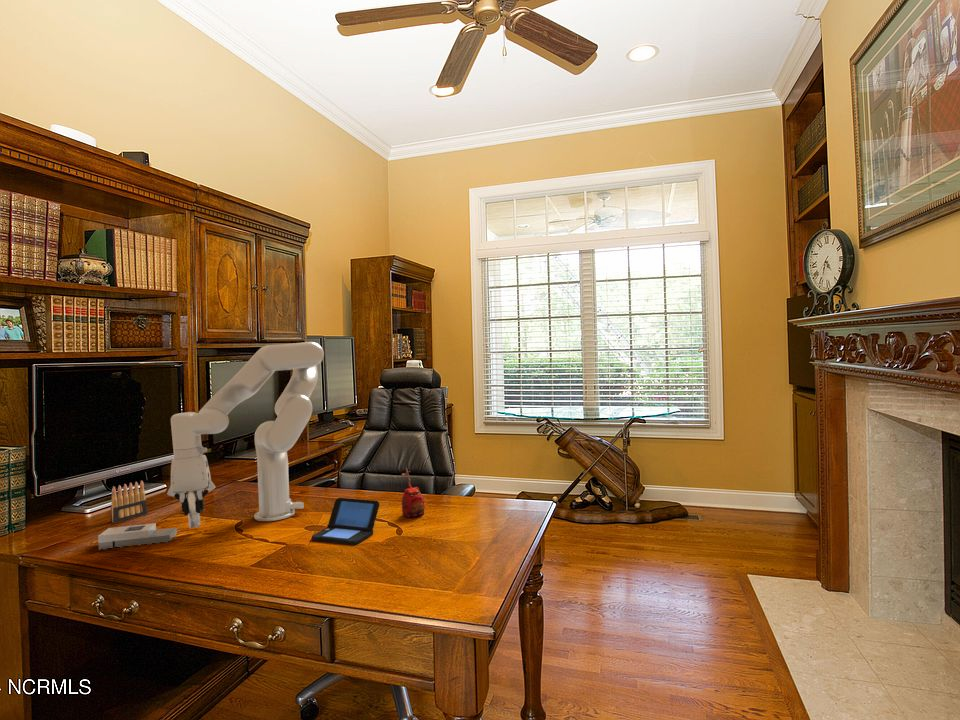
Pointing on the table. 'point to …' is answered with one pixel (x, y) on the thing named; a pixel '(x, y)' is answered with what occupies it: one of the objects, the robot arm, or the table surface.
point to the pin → (192, 509)
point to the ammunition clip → (128, 503)
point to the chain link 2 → (150, 538)
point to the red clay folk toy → (412, 501)
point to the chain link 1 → (124, 534)
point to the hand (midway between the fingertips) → (193, 512)
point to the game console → (349, 521)
